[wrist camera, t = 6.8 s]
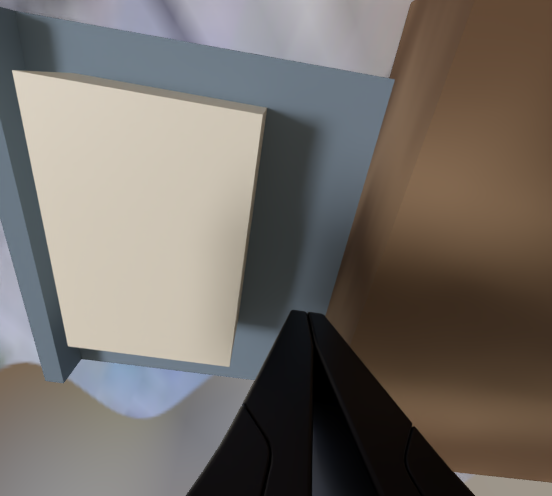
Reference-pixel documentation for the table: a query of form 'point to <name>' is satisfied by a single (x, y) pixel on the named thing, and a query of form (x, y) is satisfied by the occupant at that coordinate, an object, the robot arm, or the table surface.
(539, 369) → the brown box
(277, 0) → the table surface
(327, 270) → the gray lipped tray
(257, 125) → the cream rectangular block
